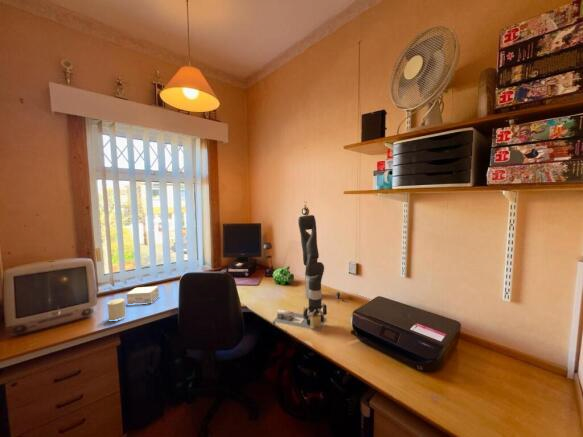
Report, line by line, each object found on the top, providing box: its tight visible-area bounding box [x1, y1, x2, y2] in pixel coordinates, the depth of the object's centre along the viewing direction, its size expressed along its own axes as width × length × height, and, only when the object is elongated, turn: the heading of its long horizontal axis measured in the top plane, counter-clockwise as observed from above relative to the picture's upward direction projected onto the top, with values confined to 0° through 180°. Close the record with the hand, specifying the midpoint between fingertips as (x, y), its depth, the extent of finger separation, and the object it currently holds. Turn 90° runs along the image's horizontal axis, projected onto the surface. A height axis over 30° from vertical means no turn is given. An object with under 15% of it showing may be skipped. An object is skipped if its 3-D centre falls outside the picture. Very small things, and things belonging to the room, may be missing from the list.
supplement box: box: [126, 286, 160, 304], centre depth 183 cm, size 17×13×9 cm
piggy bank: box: [272, 265, 295, 286], centre depth 216 cm, size 14×18×15 cm
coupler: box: [310, 314, 321, 330], centre depth 140 cm, size 4×4×8 cm
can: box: [107, 298, 127, 321], centre depth 156 cm, size 9×9×12 cm
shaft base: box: [272, 309, 328, 332], centre depth 148 cm, size 16×30×6 cm, turn 68°
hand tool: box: [350, 328, 357, 337], centre depth 138 cm, size 19×4×5 cm, turn 144°
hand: (315, 323), depth 140 cm, fingers open, 8 cm apart
